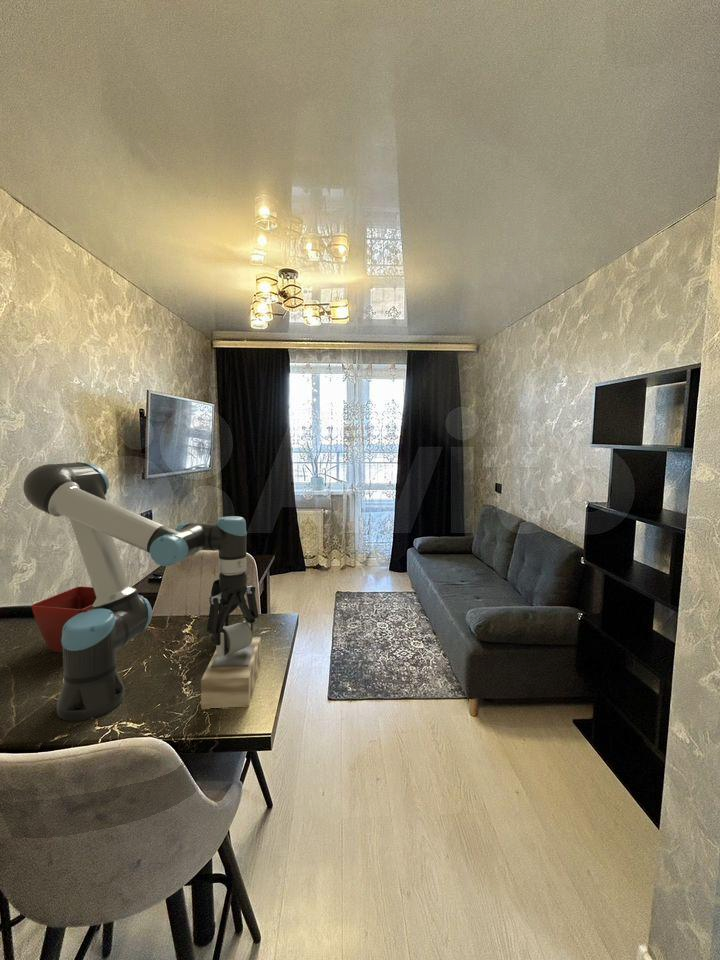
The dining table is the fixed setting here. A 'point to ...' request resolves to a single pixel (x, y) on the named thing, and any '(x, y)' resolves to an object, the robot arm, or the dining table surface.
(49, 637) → the plant pot
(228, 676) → the oak riser
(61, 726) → the dining table surface
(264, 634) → the dining table surface
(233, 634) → the ceramic mug
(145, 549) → the robot arm
